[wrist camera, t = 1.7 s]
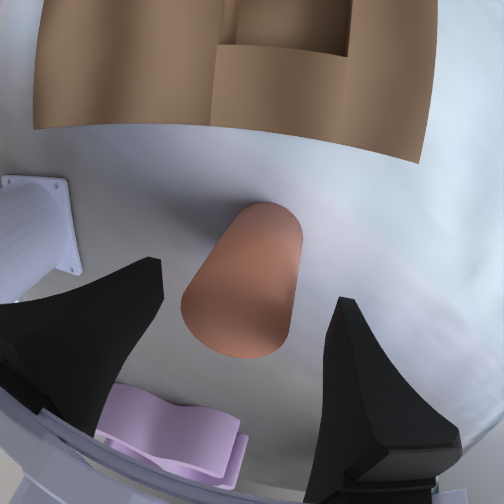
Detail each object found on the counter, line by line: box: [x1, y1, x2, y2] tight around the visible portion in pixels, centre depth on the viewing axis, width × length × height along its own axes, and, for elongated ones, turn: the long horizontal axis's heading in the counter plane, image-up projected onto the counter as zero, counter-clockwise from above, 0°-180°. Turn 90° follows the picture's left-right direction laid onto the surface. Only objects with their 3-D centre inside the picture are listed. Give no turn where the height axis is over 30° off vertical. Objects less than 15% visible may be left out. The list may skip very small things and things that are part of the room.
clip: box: [94, 383, 249, 490], centre depth 28 cm, size 20×12×7 cm, turn 104°
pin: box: [181, 202, 303, 358], centre depth 13 cm, size 4×4×7 cm
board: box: [33, 0, 438, 164], centre depth 10 cm, size 20×12×3 cm, turn 85°
